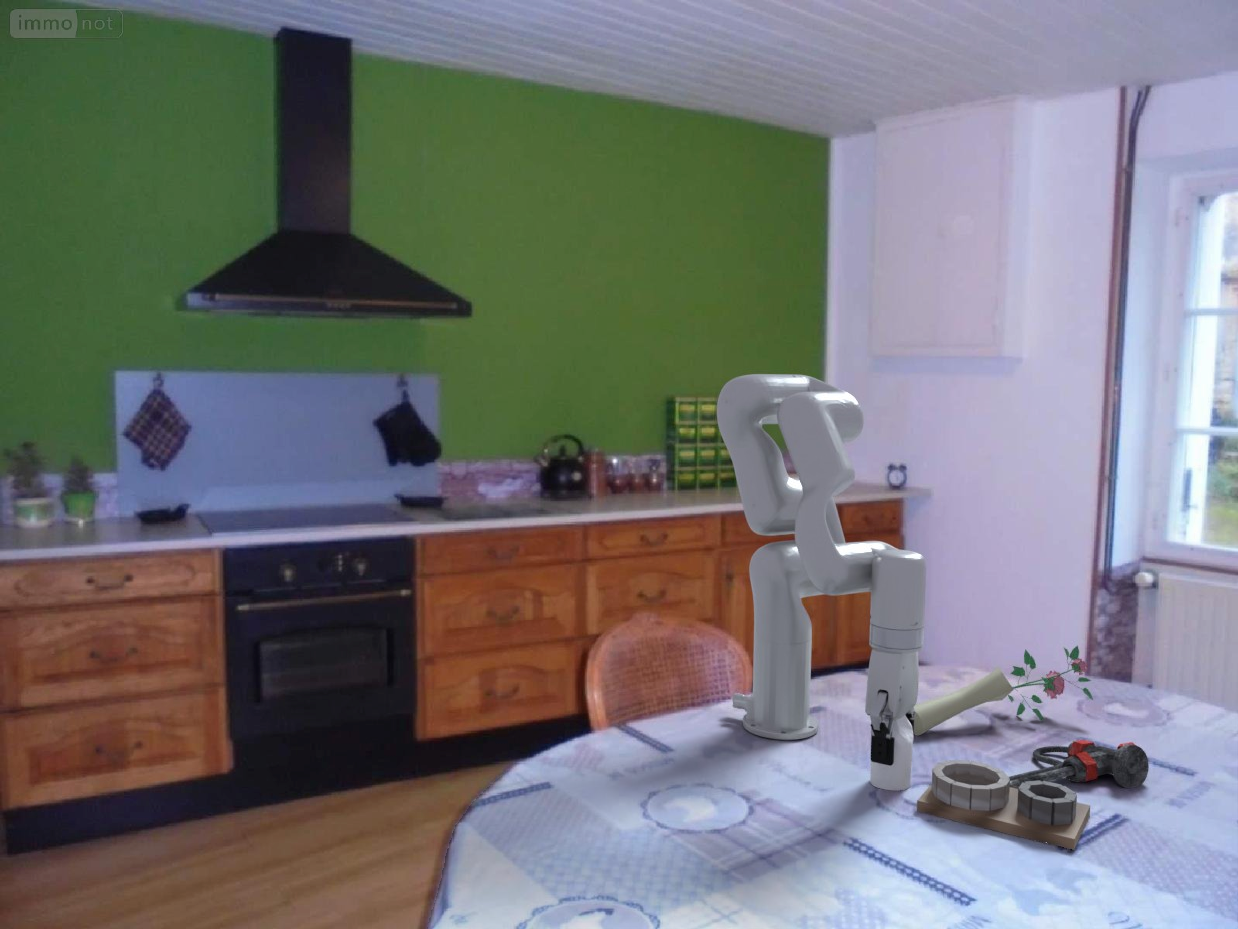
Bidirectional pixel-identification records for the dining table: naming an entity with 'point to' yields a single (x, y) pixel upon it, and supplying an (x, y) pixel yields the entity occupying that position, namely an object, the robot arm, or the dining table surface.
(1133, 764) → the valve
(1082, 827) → the fitting board
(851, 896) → the dining table surface
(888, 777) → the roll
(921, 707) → the flower vase
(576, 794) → the dining table surface
